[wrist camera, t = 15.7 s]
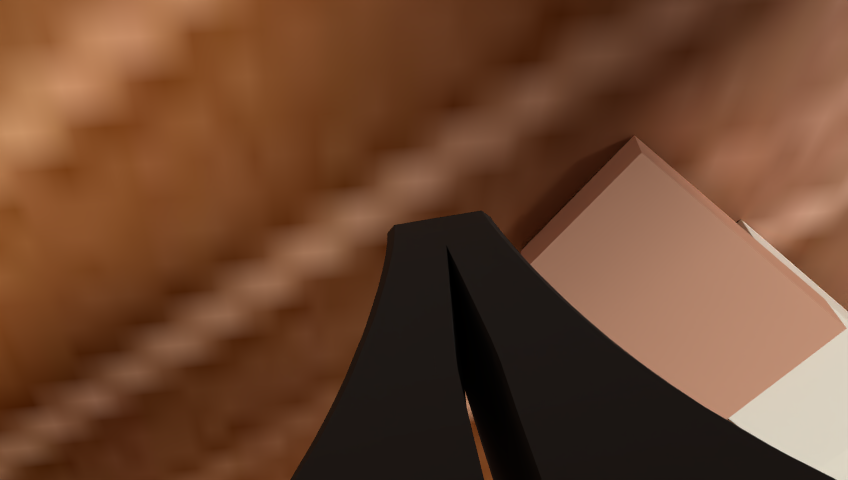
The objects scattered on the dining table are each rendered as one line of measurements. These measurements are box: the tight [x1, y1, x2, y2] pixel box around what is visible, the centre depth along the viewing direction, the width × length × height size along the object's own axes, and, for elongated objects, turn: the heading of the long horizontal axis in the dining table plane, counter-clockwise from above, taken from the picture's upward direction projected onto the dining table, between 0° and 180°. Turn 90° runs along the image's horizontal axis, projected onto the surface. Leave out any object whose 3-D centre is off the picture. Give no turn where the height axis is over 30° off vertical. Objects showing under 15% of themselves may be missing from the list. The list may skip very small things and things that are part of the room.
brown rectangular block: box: [521, 135, 847, 420], centre depth 22 cm, size 2×5×8 cm
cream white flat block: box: [729, 220, 848, 469], centre depth 25 cm, size 2×5×8 cm
